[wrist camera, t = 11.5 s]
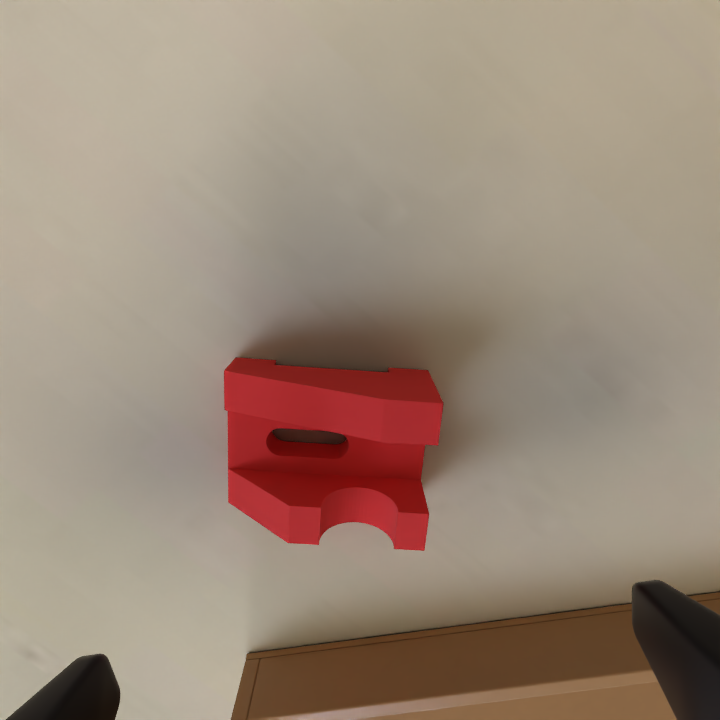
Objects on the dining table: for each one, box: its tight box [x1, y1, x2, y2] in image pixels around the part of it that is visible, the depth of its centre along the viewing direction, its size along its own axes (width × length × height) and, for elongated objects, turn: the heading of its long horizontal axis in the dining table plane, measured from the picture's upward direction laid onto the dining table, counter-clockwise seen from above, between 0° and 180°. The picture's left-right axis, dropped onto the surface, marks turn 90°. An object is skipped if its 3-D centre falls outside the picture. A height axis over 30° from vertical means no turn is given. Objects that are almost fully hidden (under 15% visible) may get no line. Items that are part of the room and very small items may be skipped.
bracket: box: [224, 357, 443, 551], centre depth 15 cm, size 6×5×3 cm
